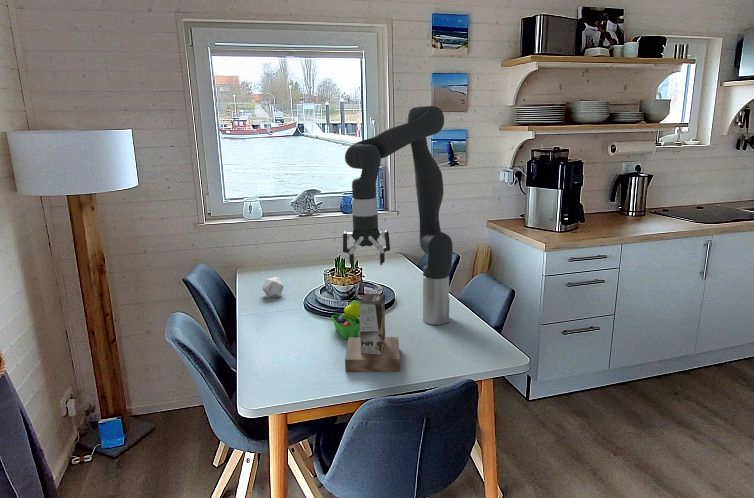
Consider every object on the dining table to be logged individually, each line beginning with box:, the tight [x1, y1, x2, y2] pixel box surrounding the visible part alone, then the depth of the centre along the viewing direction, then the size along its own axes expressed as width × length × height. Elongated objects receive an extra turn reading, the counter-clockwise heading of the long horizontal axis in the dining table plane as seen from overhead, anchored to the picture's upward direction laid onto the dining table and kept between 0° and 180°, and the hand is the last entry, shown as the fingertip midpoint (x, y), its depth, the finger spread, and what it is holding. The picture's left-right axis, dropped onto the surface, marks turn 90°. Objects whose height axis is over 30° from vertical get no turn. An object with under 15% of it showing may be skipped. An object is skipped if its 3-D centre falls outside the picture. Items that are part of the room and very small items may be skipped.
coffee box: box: [359, 293, 386, 355], centre depth 154 cm, size 9×6×16 cm
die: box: [262, 276, 284, 299], centre depth 212 cm, size 8×9×10 cm
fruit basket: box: [331, 300, 360, 340], centre depth 175 cm, size 11×9×11 cm
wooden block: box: [344, 336, 401, 373], centre depth 156 cm, size 16×15×4 cm
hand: (367, 264), depth 156 cm, fingers open, 8 cm apart
